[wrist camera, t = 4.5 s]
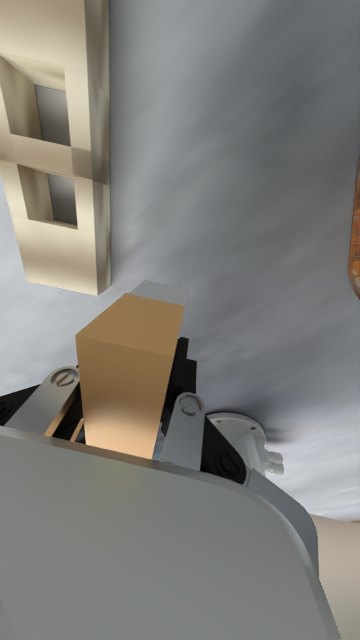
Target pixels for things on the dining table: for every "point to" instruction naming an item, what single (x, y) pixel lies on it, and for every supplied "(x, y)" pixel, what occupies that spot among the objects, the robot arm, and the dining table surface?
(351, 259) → the tin
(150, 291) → the light orange block
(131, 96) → the dining table surface
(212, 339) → the dining table surface
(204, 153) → the dining table surface
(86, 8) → the rail
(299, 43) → the dining table surface
